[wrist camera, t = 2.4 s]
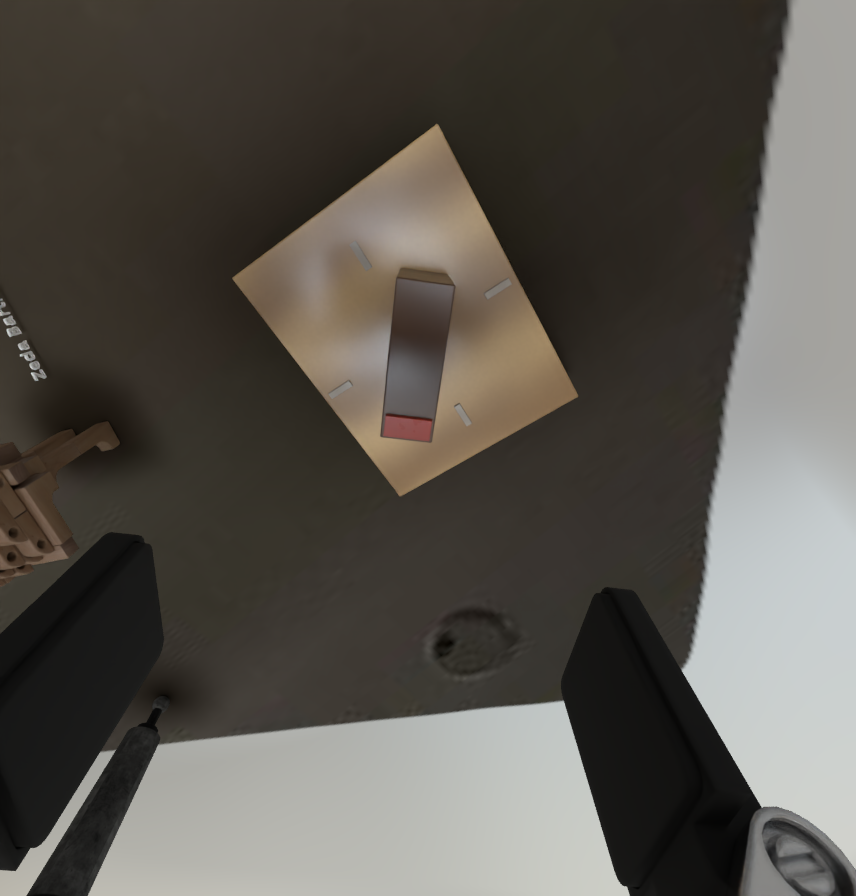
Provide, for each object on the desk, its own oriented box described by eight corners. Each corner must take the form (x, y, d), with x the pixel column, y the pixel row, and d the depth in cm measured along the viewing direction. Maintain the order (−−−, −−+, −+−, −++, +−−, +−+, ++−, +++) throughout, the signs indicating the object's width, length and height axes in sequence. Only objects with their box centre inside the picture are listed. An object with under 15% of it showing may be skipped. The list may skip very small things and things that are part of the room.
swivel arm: (400, 267, 23) (395, 277, 18) (448, 274, 23) (456, 285, 18) (386, 401, 26) (379, 439, 21) (429, 406, 26) (431, 445, 21)
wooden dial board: (254, 272, 26) (229, 278, 23) (435, 137, 24) (437, 122, 20) (402, 470, 32) (399, 498, 28) (561, 378, 29) (580, 397, 26)
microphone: (172, 660, 39) (-40, 1036, 21) (220, 709, 42) (69, 1079, 24) (106, 684, 40) (-151, 1061, 22) (157, 731, 43) (-35, 1100, 25)
